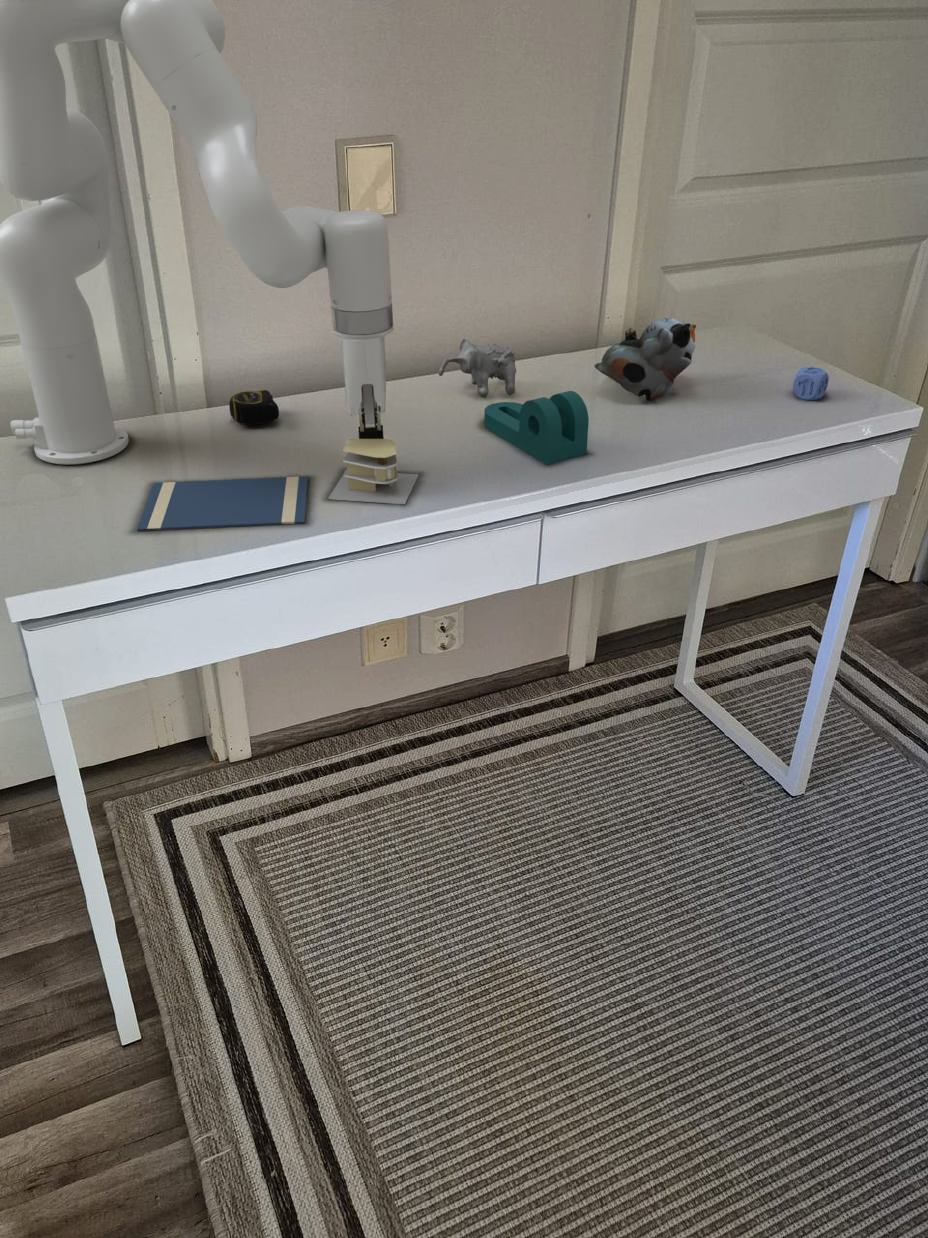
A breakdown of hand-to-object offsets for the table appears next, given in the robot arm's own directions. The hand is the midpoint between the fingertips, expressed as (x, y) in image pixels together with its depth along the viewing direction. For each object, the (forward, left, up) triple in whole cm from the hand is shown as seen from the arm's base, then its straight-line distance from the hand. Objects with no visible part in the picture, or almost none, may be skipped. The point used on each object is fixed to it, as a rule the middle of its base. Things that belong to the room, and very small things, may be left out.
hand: (372, 455), depth 137 cm
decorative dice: (+68, +21, -2) cm, 72 cm away
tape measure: (-17, +20, -2) cm, 26 cm away
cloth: (-19, -8, -2) cm, 20 cm away
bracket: (+22, +9, -2) cm, 24 cm away
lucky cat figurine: (+43, +27, -2) cm, 51 cm away
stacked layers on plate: (0, -5, -2) cm, 6 cm away
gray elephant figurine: (+17, +28, -2) cm, 33 cm away
